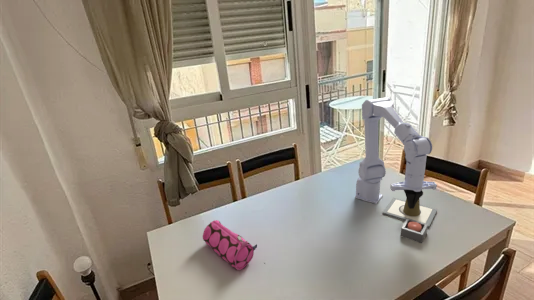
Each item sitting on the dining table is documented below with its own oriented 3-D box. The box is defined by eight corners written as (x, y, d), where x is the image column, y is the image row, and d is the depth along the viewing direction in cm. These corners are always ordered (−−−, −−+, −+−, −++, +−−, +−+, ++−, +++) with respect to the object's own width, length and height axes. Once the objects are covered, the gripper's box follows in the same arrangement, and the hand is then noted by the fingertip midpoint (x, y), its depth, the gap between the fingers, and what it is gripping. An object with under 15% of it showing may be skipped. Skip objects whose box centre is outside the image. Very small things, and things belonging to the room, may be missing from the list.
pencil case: (259, 259, 105) (257, 235, 101) (237, 276, 99) (234, 251, 95) (221, 234, 119) (218, 212, 115) (200, 247, 113) (196, 224, 109)
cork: (418, 208, 123) (421, 184, 119) (421, 217, 117) (424, 191, 113) (402, 207, 124) (404, 183, 120) (404, 215, 119) (406, 190, 115)
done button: (405, 232, 109) (406, 226, 108) (409, 225, 113) (409, 220, 112) (418, 236, 107) (419, 230, 106) (422, 230, 110) (423, 224, 109)
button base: (400, 236, 110) (401, 228, 108) (406, 226, 115) (407, 218, 113) (421, 243, 106) (422, 234, 104) (426, 232, 111) (427, 224, 109)
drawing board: (382, 213, 123) (382, 211, 123) (393, 199, 132) (393, 197, 132) (428, 228, 113) (429, 225, 112) (437, 210, 122) (437, 208, 121)
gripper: (396, 179, 100) (393, 214, 105) (443, 177, 99) (437, 212, 104) (389, 169, 106) (386, 203, 112) (433, 167, 105) (428, 201, 110)
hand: (410, 207), depth 108 cm, fingers closed
